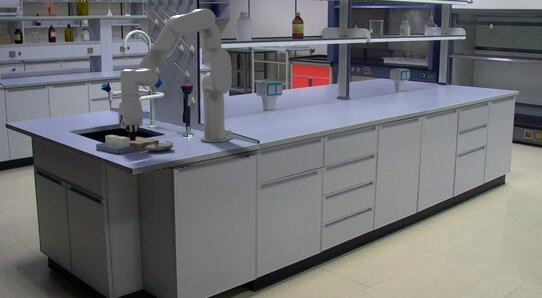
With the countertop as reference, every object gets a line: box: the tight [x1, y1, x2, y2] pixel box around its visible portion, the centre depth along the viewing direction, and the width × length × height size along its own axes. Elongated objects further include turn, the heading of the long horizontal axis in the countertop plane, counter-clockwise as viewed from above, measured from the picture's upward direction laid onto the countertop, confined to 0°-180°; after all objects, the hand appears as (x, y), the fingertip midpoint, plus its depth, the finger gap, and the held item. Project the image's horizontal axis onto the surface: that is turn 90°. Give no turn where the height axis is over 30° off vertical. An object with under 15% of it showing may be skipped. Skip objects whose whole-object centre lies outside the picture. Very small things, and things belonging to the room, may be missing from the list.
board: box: [130, 136, 160, 152], centre depth 263 cm, size 14×15×3 cm
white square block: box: [115, 136, 130, 148], centre depth 253 cm, size 6×6×4 cm
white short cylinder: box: [104, 134, 121, 148], centre depth 257 cm, size 6×6×4 cm
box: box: [95, 142, 135, 155], centre depth 254 cm, size 8×16×2 cm, turn 51°
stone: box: [144, 140, 174, 152], centre depth 254 cm, size 12×9×3 cm
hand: (132, 140), depth 257 cm, fingers closed
